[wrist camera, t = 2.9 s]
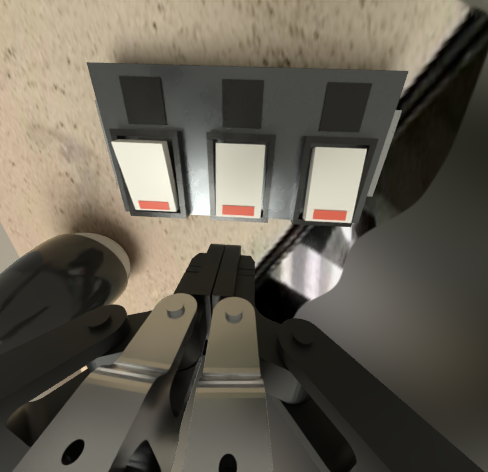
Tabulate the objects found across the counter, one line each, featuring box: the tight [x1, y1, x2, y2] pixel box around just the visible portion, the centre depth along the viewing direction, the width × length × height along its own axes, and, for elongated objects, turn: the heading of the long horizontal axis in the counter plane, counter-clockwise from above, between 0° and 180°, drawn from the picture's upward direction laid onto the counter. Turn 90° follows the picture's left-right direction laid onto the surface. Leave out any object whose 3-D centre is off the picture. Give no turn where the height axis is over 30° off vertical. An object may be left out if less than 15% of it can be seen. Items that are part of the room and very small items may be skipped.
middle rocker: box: [216, 143, 265, 218], centre depth 17 cm, size 6×4×1 cm, turn 178°
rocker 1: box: [111, 139, 180, 212], centre depth 17 cm, size 6×4×1 cm, turn 178°
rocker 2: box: [303, 147, 367, 223], centre depth 17 cm, size 6×4×1 cm, turn 178°
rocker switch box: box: [87, 62, 408, 227], centre depth 18 cm, size 12×29×5 cm, turn 88°
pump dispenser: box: [0, 233, 131, 355], centre depth 20 cm, size 10×10×15 cm
